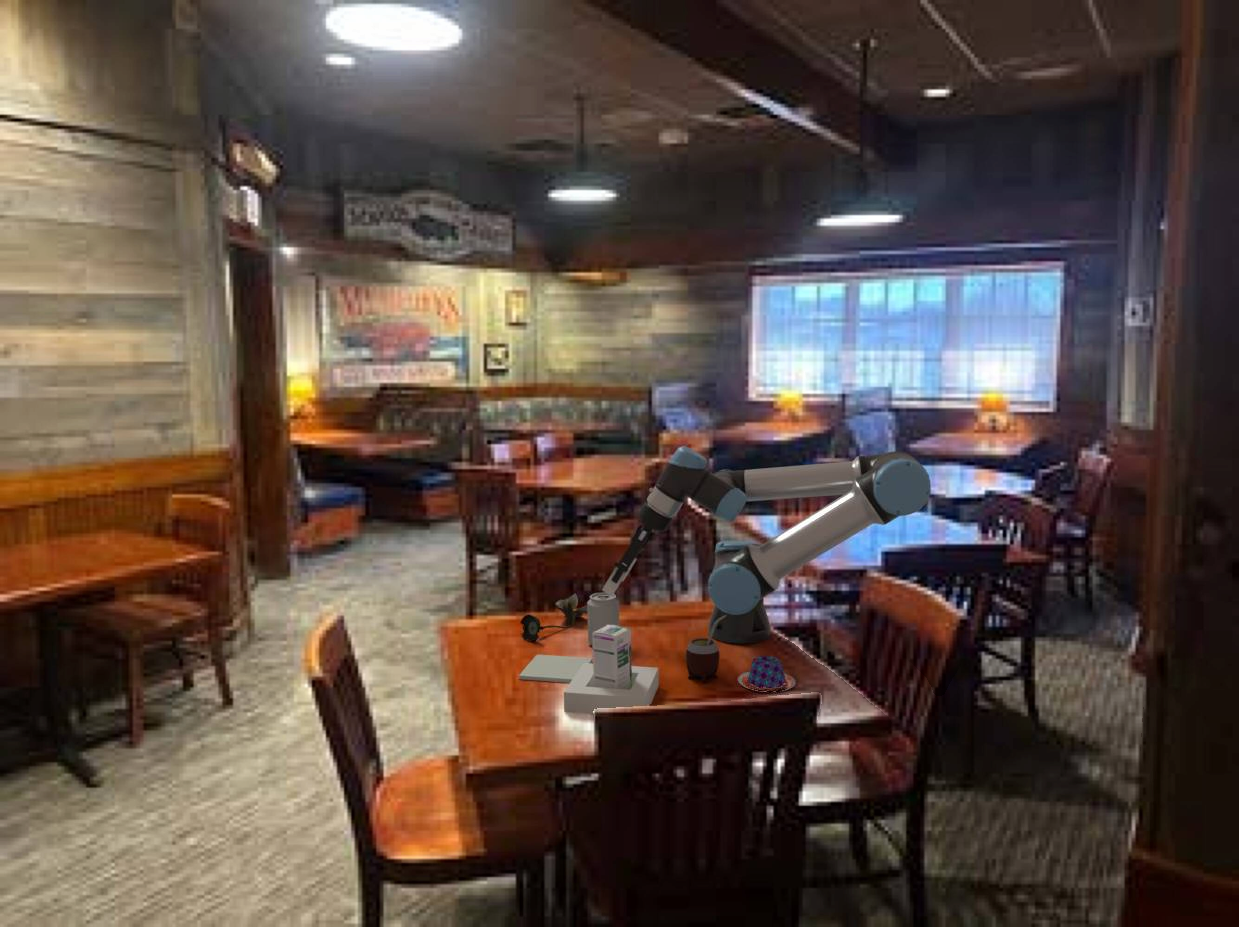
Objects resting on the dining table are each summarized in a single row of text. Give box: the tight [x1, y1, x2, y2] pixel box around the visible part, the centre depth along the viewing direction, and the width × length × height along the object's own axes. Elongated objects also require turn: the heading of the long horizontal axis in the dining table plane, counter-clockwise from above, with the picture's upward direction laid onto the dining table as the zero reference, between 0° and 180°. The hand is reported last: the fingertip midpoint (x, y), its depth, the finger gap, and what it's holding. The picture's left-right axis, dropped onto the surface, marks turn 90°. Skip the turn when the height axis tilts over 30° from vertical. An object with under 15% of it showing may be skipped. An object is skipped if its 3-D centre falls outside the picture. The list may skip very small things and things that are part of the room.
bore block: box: [563, 662, 659, 715], centre depth 181 cm, size 16×16×4 cm
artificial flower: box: [520, 593, 588, 643], centre depth 225 cm, size 9×22×10 cm, turn 139°
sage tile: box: [518, 654, 593, 684], centre depth 197 cm, size 13×13×1 cm
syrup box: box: [592, 625, 633, 690], centre depth 180 cm, size 6×6×14 cm
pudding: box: [737, 655, 797, 693], centre depth 188 cm, size 12×12×5 cm
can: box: [586, 592, 620, 647], centre depth 212 cm, size 8×8×12 cm
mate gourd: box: [685, 615, 727, 685], centre depth 190 cm, size 8×8×15 cm
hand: (612, 585), depth 209 cm, fingers open, 13 cm apart
